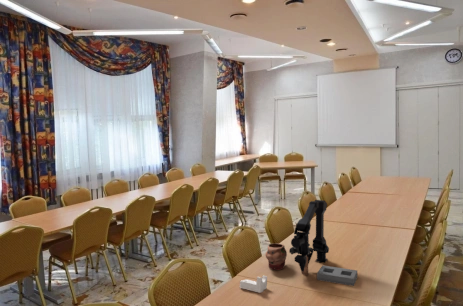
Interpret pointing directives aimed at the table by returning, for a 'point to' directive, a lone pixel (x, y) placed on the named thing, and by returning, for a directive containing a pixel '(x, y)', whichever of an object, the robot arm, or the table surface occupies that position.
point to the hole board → (337, 275)
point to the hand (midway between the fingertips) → (304, 268)
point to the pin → (305, 268)
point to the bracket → (255, 284)
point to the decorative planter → (276, 256)
